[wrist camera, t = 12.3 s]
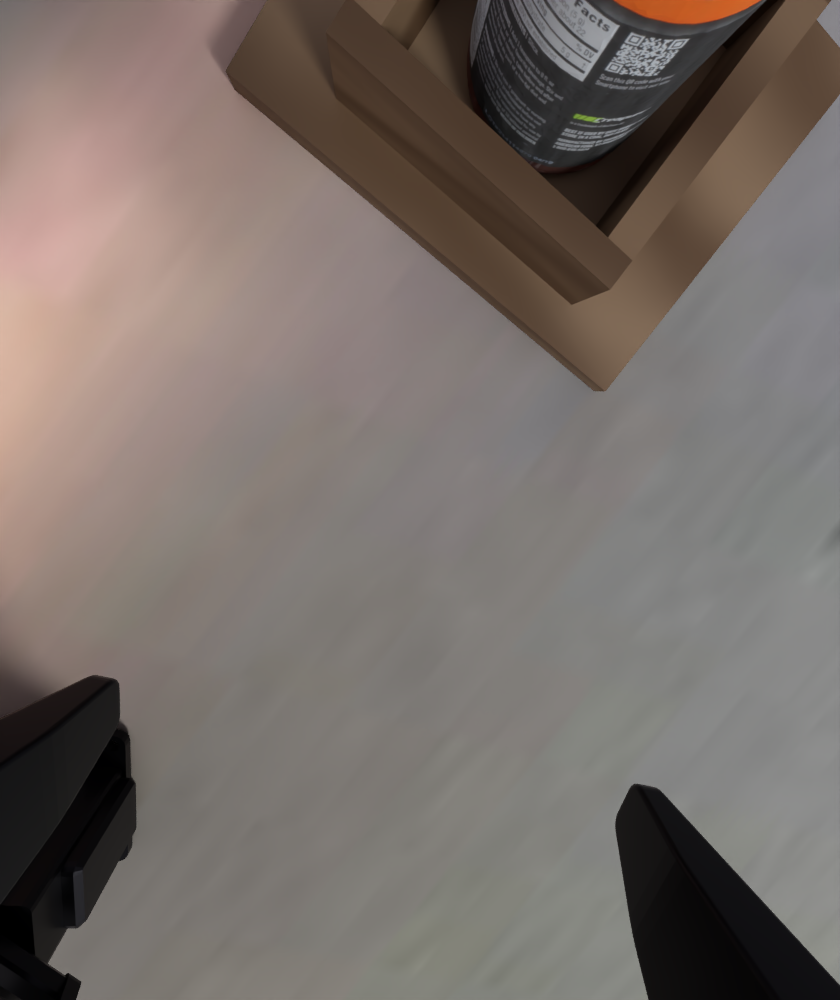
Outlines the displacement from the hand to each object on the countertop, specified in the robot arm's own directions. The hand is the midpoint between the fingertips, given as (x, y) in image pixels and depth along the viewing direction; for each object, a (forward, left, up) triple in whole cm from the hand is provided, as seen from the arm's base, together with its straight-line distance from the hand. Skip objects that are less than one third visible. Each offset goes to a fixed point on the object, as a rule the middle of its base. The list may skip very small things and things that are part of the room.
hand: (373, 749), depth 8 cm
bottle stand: (+4, +16, -12) cm, 21 cm away
